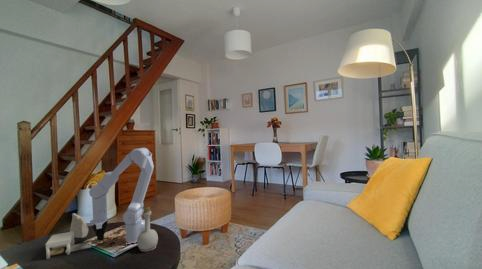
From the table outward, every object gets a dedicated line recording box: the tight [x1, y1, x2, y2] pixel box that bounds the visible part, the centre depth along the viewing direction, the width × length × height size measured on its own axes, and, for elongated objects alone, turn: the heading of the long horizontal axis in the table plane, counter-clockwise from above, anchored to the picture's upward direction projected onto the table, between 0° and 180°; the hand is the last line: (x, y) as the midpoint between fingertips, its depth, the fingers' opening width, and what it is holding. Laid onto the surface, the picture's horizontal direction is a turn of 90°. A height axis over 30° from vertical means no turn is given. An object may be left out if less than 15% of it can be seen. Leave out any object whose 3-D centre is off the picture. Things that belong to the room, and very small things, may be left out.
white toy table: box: [45, 231, 75, 260], centre depth 100 cm, size 8×10×6 cm
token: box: [50, 247, 65, 257], centre depth 99 cm, size 5×5×1 cm
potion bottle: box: [136, 206, 159, 253], centre depth 101 cm, size 9×9×18 cm
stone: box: [69, 212, 89, 239], centre depth 116 cm, size 10×5×12 cm, turn 65°
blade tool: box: [65, 238, 105, 254], centre depth 104 cm, size 14×5×6 cm, turn 118°
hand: (100, 238), depth 107 cm, fingers open, 2 cm apart
